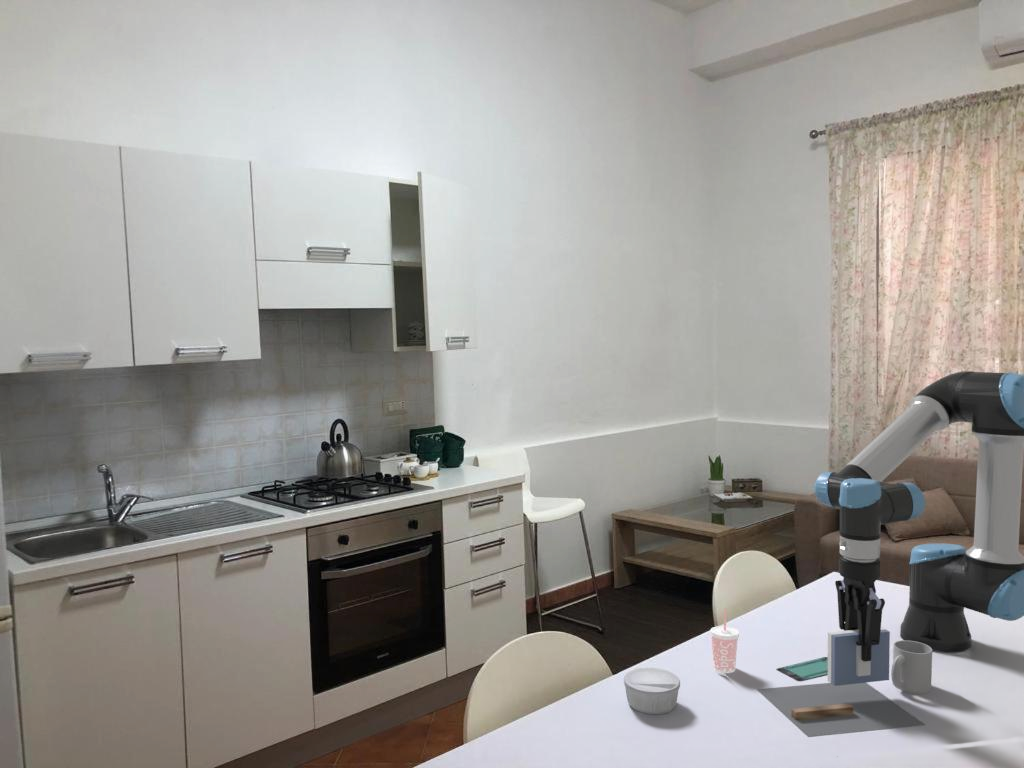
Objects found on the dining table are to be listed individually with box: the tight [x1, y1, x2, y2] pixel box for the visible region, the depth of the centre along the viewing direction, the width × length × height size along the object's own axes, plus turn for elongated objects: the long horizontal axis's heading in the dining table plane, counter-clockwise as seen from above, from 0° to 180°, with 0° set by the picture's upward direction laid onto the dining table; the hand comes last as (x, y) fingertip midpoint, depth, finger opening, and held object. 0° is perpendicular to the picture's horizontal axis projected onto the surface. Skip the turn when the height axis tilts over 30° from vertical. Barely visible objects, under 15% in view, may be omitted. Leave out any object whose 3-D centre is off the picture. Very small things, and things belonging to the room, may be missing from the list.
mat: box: [756, 682, 927, 738], centre depth 161 cm, size 24×20×1 cm
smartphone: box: [776, 656, 828, 682], centre depth 179 cm, size 7×1×15 cm
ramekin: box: [623, 667, 681, 715], centre depth 164 cm, size 11×11×5 cm
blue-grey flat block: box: [827, 626, 891, 686], centre depth 165 cm, size 12×2×10 cm, turn 100°
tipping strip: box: [791, 704, 853, 720], centre depth 157 cm, size 12×2×2 cm, turn 100°
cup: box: [890, 639, 933, 695], centre depth 169 cm, size 7×10×9 cm
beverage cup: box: [710, 607, 740, 676], centre depth 179 cm, size 6×6×14 cm
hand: (858, 671), depth 165 cm, fingers closed on blue-grey flat block, 2 cm apart
